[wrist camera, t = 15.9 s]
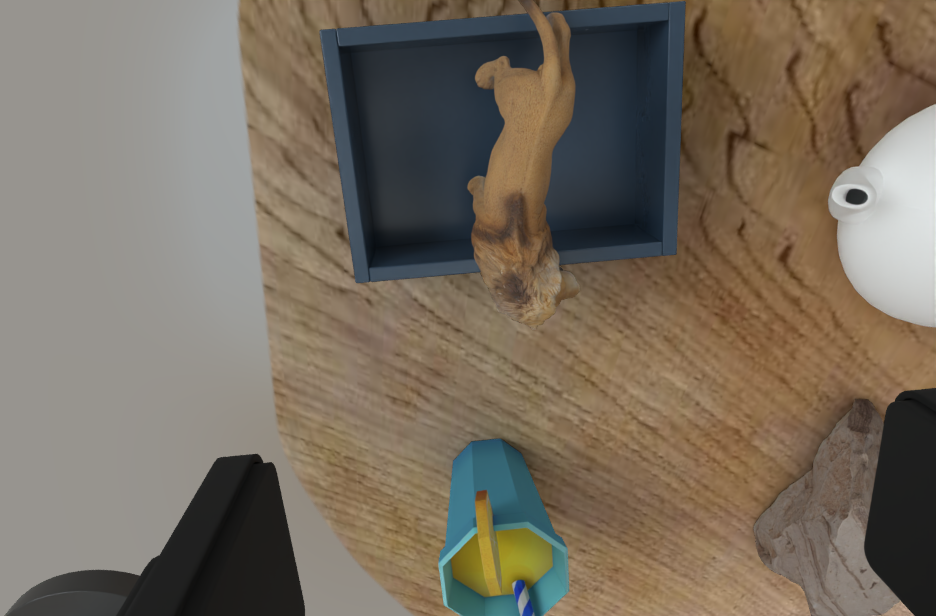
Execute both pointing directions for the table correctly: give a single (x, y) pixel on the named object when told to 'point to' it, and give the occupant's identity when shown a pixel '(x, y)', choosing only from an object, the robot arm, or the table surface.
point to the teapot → (892, 221)
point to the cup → (499, 538)
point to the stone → (830, 523)
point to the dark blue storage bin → (480, 124)
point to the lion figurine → (524, 179)
